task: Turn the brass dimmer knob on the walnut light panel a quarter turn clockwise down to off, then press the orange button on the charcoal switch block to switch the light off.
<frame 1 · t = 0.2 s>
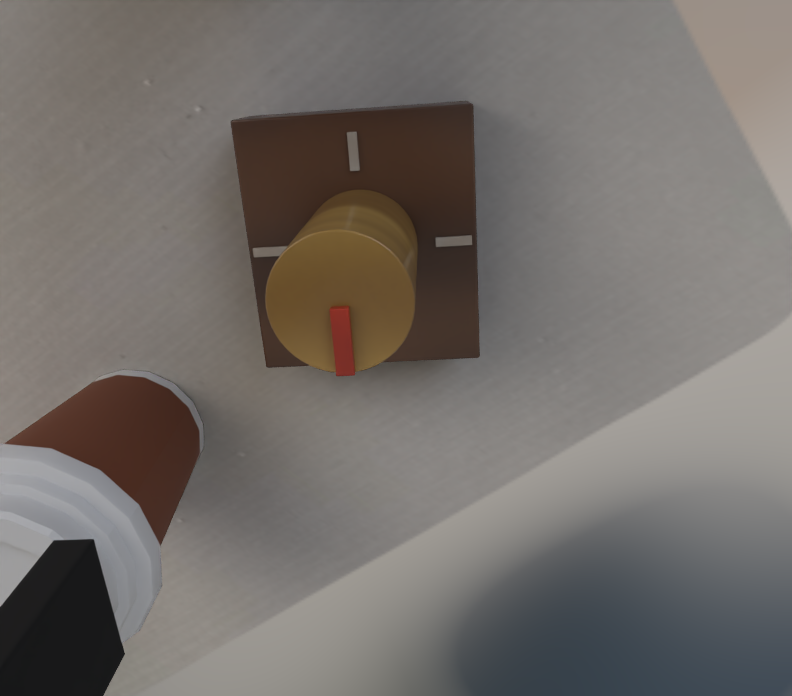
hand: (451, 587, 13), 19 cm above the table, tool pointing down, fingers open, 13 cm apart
coffee cup: (141, 427, 34), on the table
dimmer knob: (351, 272, 24), point 7 cm above the table, hinge at 0.0°
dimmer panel: (367, 230, 30), on the table
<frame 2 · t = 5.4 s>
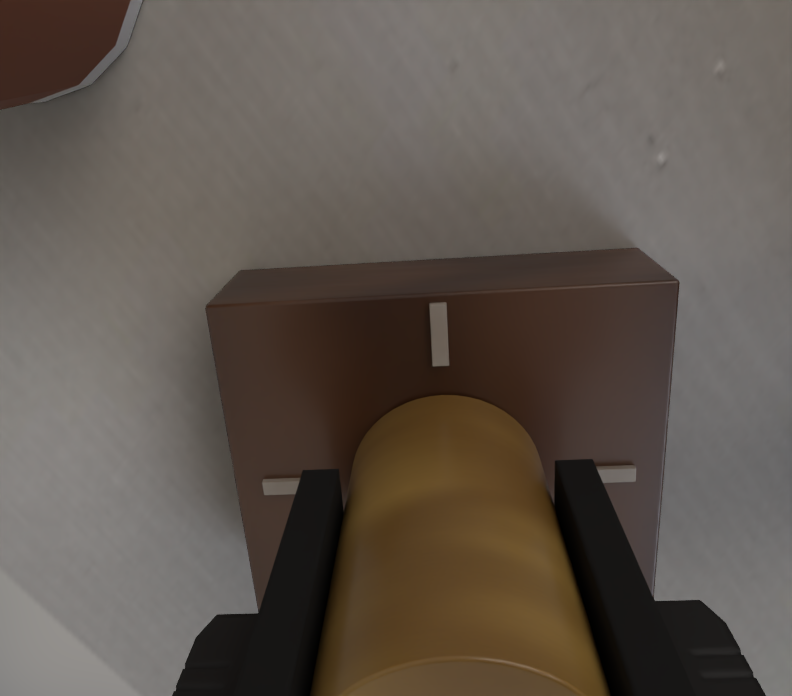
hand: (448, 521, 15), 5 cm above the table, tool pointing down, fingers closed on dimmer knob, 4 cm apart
dimmer knob: (452, 596, 12), point 7 cm above the table, hinge at 0.0°, touching gripper
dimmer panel: (443, 419, 19), on the table
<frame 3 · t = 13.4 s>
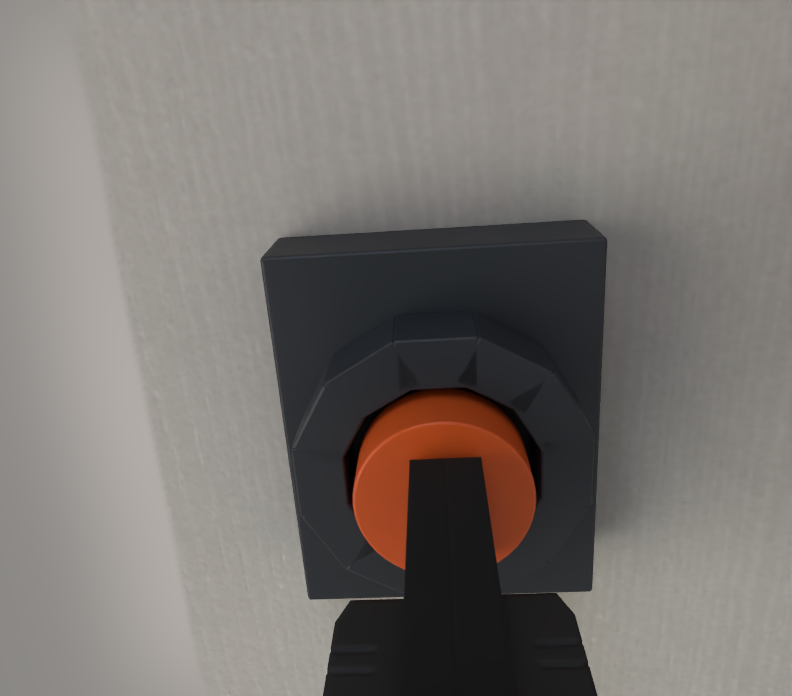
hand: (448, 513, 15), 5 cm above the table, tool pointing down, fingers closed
switch block: (438, 402, 20), on the table
light button: (442, 482, 16), point 4 cm above the table, slide at -0.2 cm, touching gripper
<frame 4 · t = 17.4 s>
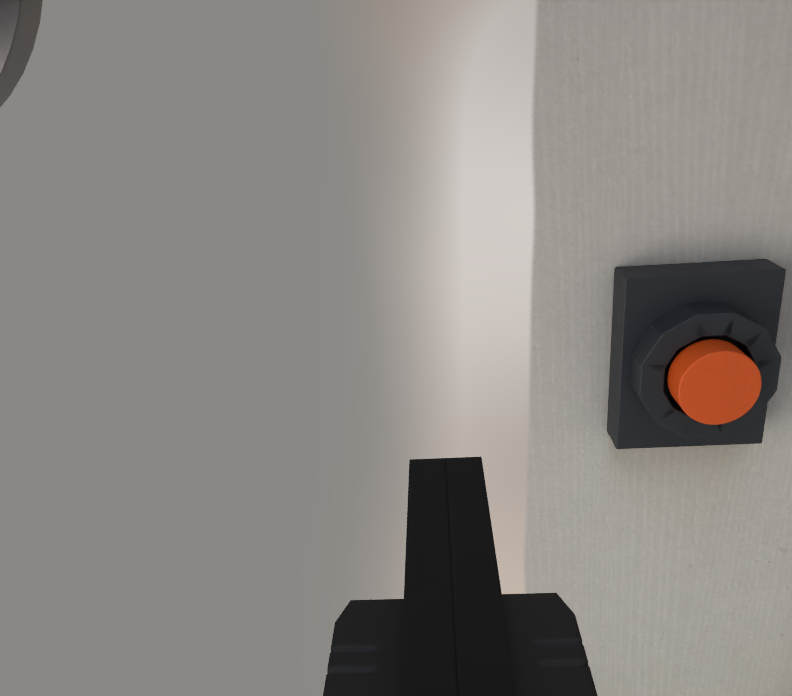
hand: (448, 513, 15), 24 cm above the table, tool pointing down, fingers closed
switch block: (682, 349, 39), on the table
light button: (713, 381, 35), point 4 cm above the table, slide at 0.1 cm
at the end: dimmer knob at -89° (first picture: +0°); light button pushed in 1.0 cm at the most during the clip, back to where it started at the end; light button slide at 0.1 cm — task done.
